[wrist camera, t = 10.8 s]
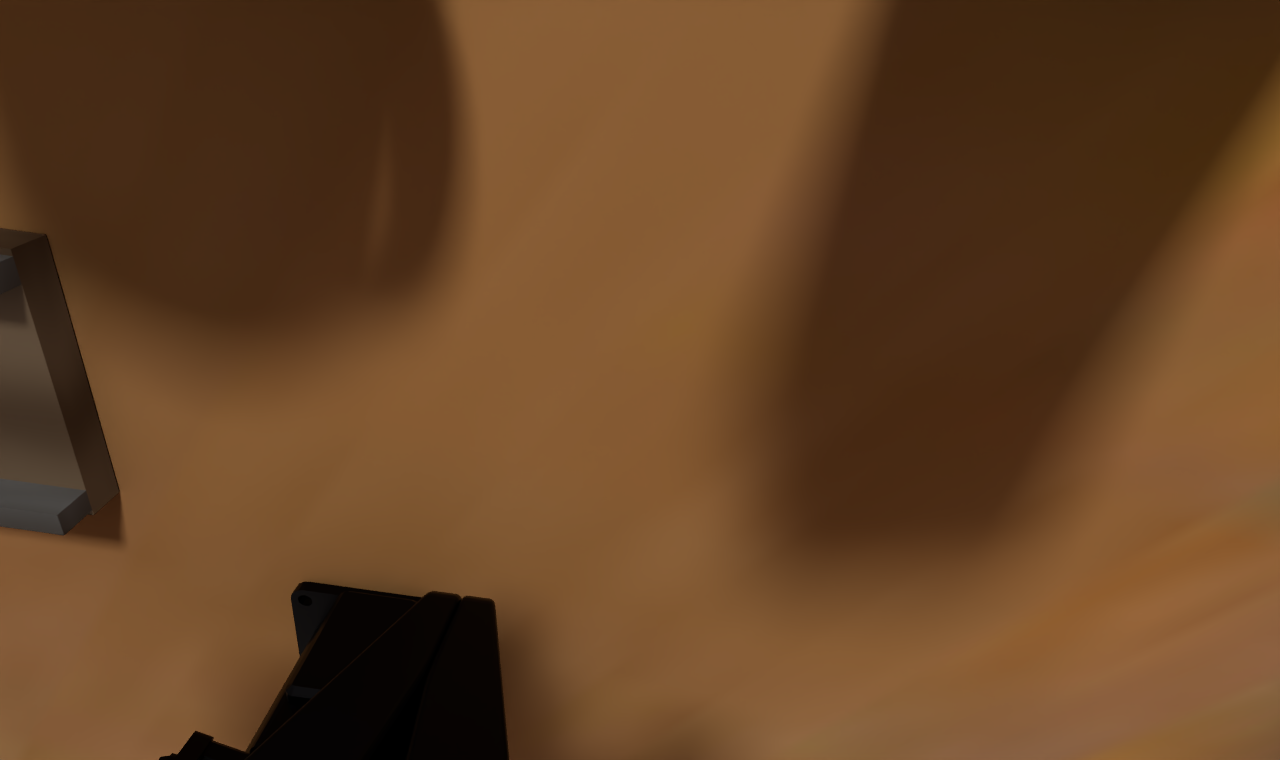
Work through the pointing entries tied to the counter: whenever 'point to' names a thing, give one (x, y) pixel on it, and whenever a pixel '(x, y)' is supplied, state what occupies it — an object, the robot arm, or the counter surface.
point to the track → (44, 400)
